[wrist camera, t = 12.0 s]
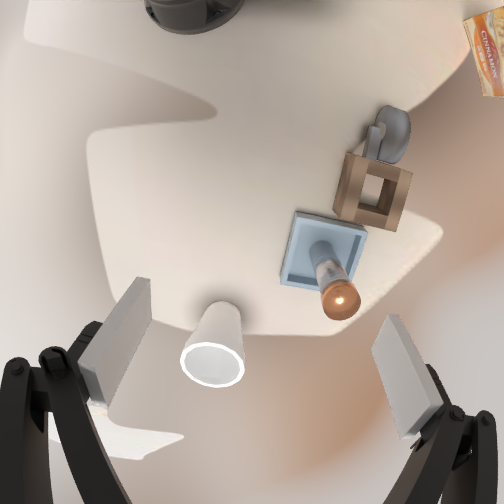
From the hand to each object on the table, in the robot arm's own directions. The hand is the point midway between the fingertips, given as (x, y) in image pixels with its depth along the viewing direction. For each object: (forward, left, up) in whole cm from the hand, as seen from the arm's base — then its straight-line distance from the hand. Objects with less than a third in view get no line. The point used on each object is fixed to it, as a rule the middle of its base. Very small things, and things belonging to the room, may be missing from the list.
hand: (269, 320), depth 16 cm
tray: (+7, +10, -31) cm, 33 cm away
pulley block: (-9, +14, -31) cm, 35 cm away
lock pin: (+7, +10, -30) cm, 32 cm away
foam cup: (+23, -4, -31) cm, 38 cm away
